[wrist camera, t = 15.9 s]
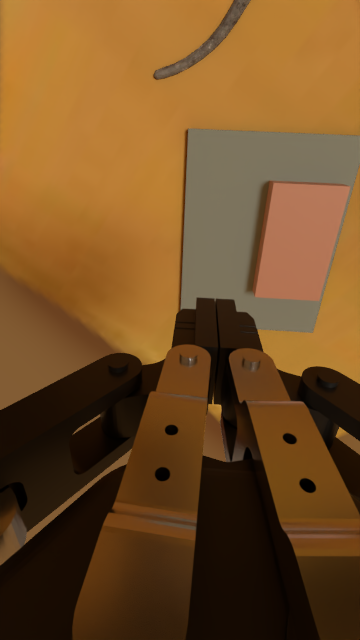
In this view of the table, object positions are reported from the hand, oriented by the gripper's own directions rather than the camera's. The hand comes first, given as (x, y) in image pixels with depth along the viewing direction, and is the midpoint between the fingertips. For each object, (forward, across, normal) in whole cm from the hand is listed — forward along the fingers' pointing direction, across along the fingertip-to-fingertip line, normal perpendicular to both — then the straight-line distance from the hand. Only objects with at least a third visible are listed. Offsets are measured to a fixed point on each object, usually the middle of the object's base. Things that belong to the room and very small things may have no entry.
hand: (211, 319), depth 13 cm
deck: (+18, -5, +2) cm, 18 cm away
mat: (+19, -5, +2) cm, 20 cm away
